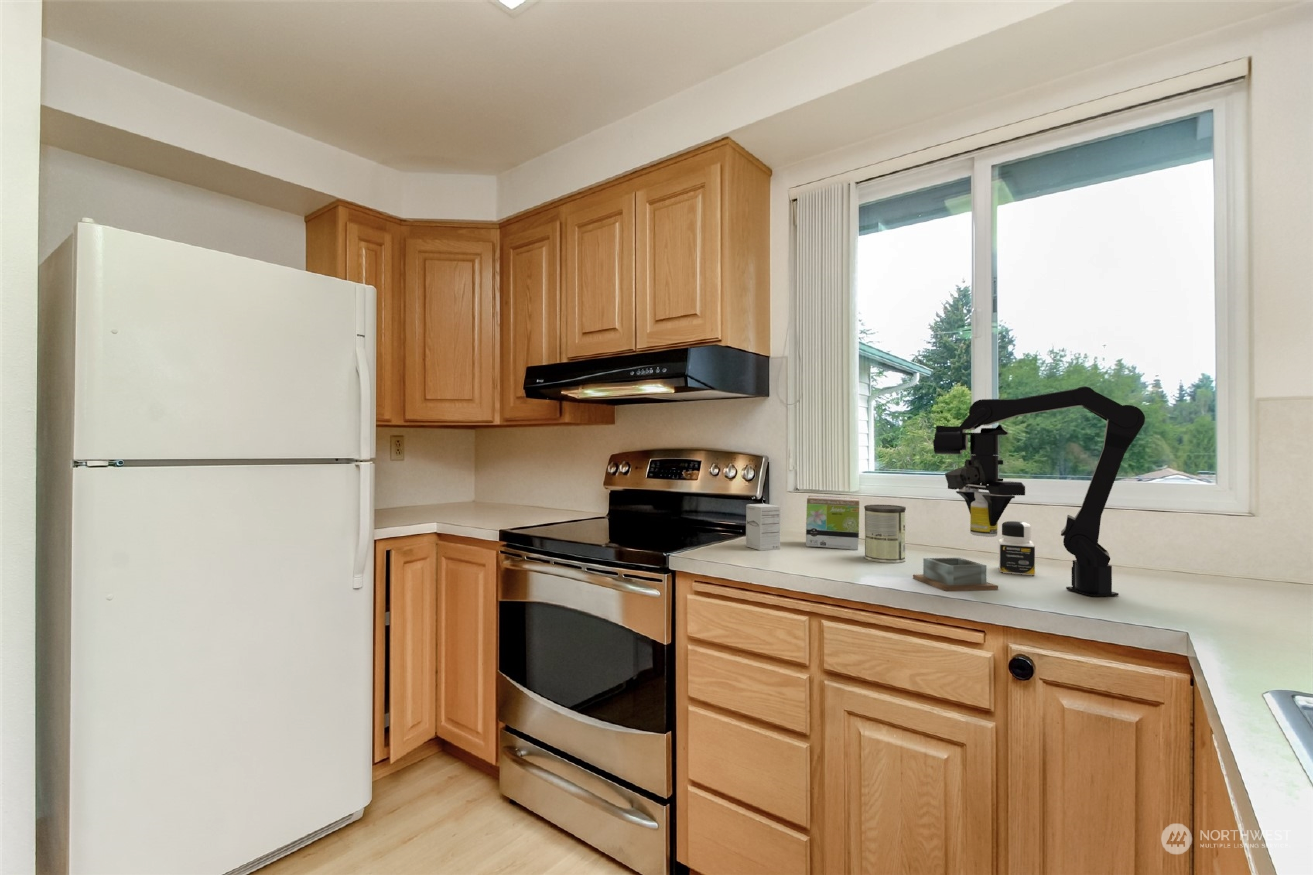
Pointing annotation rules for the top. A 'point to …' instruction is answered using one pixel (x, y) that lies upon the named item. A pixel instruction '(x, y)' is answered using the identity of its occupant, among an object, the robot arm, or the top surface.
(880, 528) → the coffee can
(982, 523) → the supplement bottle
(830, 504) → the tea box
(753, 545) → the supplement box
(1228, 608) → the top surface
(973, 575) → the socket board
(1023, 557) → the medicine bottle
